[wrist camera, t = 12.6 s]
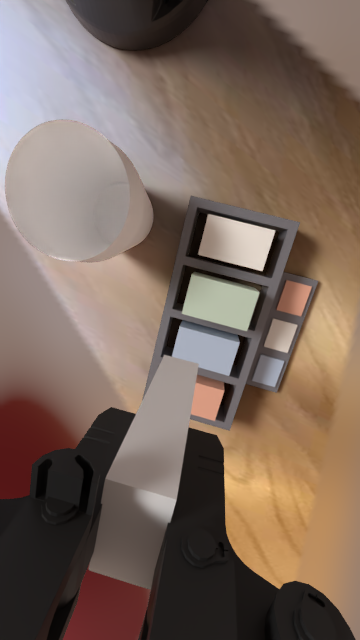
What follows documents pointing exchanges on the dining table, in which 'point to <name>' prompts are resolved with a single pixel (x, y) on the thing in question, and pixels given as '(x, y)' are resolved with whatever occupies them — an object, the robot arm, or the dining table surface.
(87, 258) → the cup
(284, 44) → the dining table surface
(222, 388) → the key terracotta
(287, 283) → the strip
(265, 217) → the keypad
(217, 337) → the key slate
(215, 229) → the key ivory
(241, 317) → the key sage
